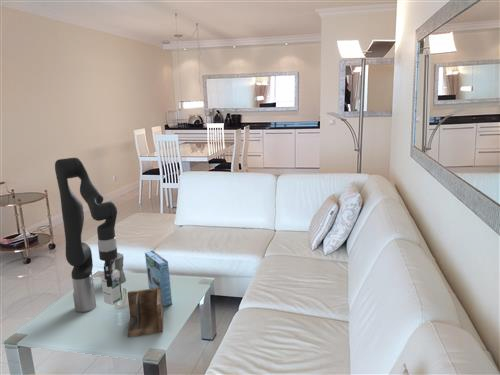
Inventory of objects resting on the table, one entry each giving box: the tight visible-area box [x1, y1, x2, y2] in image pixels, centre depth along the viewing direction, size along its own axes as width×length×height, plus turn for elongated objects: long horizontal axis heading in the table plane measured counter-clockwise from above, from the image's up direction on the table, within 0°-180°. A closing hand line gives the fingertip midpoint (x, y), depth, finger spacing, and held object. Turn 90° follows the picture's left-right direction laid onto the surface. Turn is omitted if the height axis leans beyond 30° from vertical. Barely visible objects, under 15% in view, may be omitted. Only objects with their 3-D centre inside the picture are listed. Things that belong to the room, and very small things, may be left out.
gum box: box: [144, 250, 173, 308], centre depth 202 cm, size 20×5×23 cm, turn 35°
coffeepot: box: [114, 252, 127, 284], centre depth 223 cm, size 15×9×18 cm, turn 1°
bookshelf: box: [126, 288, 164, 338], centre depth 179 cm, size 15×16×14 cm
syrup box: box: [100, 268, 123, 306], centre depth 175 cm, size 6×6×14 cm
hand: (111, 282), depth 175 cm, fingers closed on syrup box, 8 cm apart
